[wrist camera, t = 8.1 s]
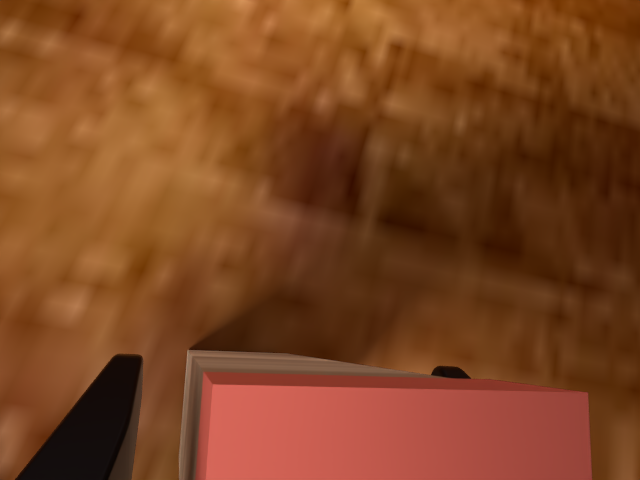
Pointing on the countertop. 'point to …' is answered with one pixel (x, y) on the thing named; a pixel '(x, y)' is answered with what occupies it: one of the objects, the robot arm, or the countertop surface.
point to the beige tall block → (371, 423)
